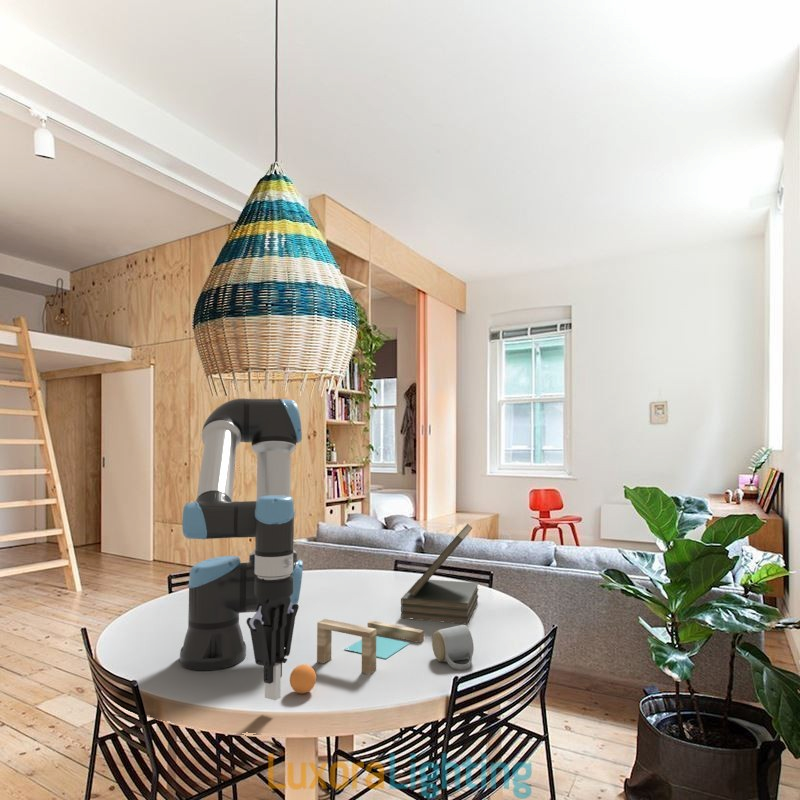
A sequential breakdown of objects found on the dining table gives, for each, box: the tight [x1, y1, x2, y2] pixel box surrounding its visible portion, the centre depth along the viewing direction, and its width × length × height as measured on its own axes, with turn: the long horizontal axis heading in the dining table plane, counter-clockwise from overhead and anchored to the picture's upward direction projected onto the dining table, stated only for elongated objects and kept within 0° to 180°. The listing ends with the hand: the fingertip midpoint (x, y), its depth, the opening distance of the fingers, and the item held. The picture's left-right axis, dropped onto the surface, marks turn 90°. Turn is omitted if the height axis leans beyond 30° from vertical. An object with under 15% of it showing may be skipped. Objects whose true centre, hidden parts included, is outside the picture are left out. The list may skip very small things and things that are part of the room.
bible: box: [400, 523, 479, 625], centre depth 185 cm, size 23×20×25 cm
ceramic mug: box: [431, 624, 475, 671], centre depth 144 cm, size 11×8×8 cm
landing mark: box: [344, 635, 410, 660], centre depth 154 cm, size 12×12×1 cm
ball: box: [289, 664, 317, 694], centre depth 128 cm, size 6×6×6 cm
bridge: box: [316, 618, 377, 675], centre depth 142 cm, size 3×14×9 cm, turn 61°
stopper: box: [367, 620, 425, 643], centre depth 162 cm, size 16×2×2 cm, turn 61°
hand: (272, 697), depth 119 cm, fingers closed
